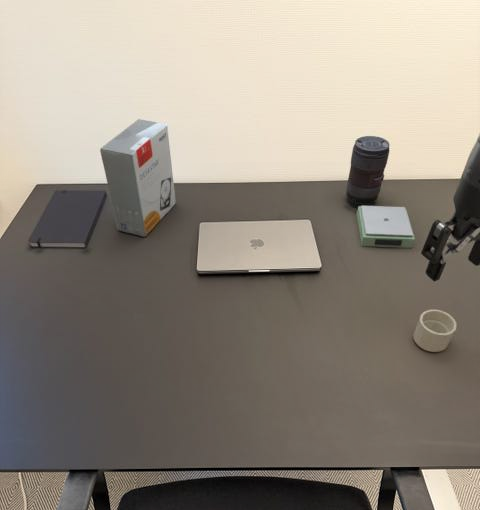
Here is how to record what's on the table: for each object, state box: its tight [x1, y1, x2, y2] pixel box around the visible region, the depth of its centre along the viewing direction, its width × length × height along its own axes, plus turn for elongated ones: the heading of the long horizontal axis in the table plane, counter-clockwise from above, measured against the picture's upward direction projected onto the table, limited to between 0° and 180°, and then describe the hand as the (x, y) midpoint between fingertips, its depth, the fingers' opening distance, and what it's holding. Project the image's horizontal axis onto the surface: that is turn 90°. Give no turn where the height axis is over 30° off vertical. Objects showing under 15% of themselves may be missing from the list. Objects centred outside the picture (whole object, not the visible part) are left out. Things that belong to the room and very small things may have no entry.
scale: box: [356, 205, 416, 249], centre depth 106 cm, size 11×12×3 cm
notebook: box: [27, 189, 108, 249], centre depth 110 cm, size 13×2×21 cm
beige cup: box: [412, 309, 458, 353], centre depth 82 cm, size 6×6×5 cm
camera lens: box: [345, 135, 390, 209], centre depth 110 cm, size 8×8×15 cm
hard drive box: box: [99, 118, 177, 238], centre depth 104 cm, size 16×8×20 cm, turn 158°
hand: (453, 269), depth 73 cm, fingers open, 8 cm apart
